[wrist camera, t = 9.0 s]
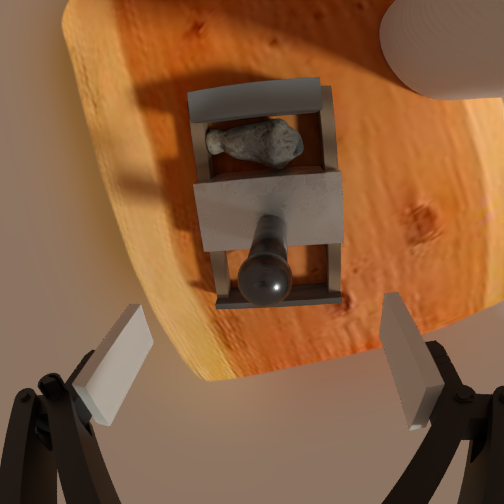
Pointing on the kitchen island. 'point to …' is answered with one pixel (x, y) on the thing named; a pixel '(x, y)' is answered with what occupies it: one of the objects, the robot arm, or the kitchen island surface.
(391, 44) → the vase
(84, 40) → the kitchen island surface
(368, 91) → the kitchen island surface
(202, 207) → the ram
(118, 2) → the kitchen island surface
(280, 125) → the stone
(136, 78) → the kitchen island surface
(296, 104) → the grey rectangular frame
